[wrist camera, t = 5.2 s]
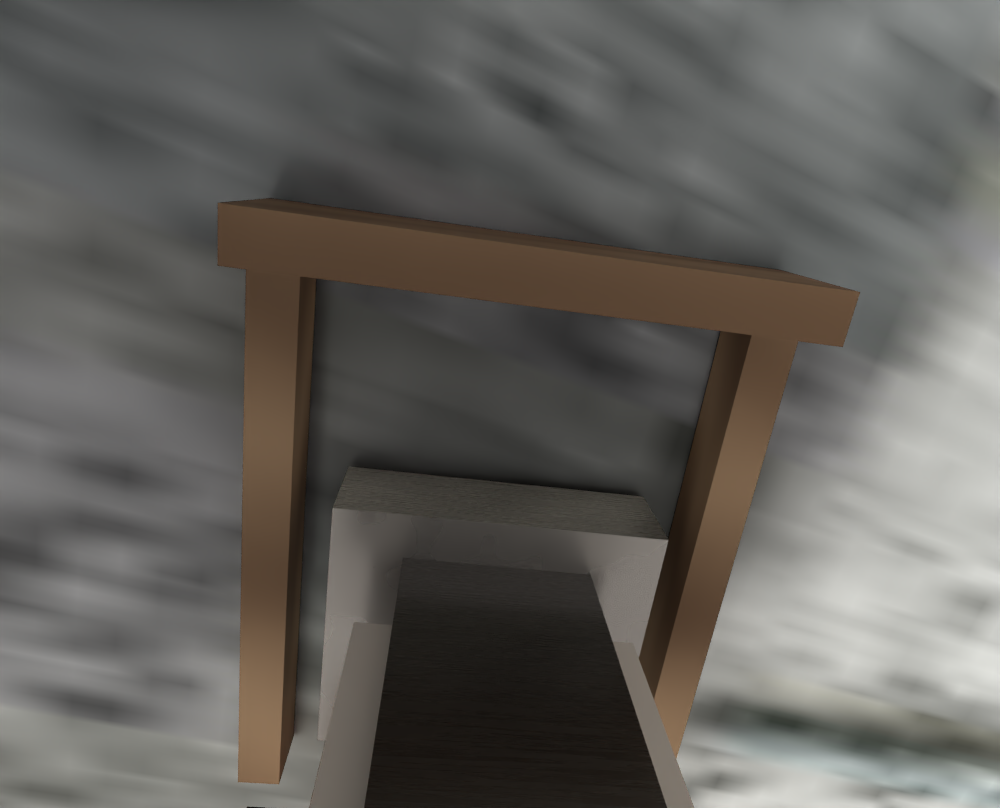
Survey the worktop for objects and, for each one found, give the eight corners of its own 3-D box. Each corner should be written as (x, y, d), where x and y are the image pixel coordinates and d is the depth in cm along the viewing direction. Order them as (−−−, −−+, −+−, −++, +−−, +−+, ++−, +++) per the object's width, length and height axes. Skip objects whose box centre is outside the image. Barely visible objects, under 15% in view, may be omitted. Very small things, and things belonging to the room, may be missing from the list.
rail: (270, 198, 13) (217, 202, 10) (780, 270, 14) (859, 291, 11) (255, 734, 18) (216, 839, 15) (647, 757, 19) (680, 860, 16)
